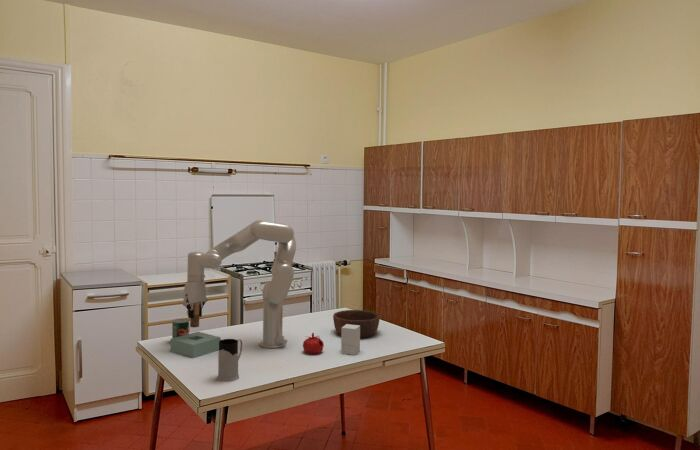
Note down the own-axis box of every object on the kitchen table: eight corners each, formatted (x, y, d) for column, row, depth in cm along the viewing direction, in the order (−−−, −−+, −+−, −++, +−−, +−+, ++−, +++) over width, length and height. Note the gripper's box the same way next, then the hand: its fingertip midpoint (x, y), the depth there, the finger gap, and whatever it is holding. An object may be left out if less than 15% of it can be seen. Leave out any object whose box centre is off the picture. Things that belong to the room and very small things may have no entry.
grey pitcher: (212, 379, 214) (212, 342, 213) (232, 368, 227) (232, 334, 226) (231, 382, 211) (231, 345, 210) (250, 371, 224) (250, 336, 223)
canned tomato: (183, 345, 259) (183, 323, 258) (169, 344, 260) (169, 321, 259) (191, 340, 266) (191, 319, 266) (177, 339, 268) (177, 318, 267)
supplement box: (360, 351, 256) (360, 325, 255) (355, 355, 249) (356, 328, 248) (345, 349, 258) (346, 323, 257) (340, 353, 251) (341, 327, 250)
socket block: (220, 349, 253) (220, 337, 253) (193, 358, 240) (193, 345, 239) (197, 343, 262) (197, 331, 262) (170, 351, 249) (170, 338, 248)
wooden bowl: (387, 332, 290) (388, 314, 290) (363, 343, 269) (364, 323, 269) (349, 325, 304) (349, 307, 303) (323, 335, 283) (323, 315, 282)
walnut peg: (200, 326, 251) (201, 301, 250) (194, 327, 247) (194, 302, 247) (195, 324, 253) (195, 299, 252) (188, 326, 250) (188, 301, 249)
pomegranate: (304, 356, 246) (304, 337, 245) (300, 350, 256) (300, 331, 255) (325, 354, 249) (325, 335, 248) (321, 348, 259) (321, 329, 258)
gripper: (204, 275, 258) (203, 313, 259) (175, 279, 244) (174, 319, 245) (215, 277, 253) (214, 315, 255) (186, 281, 240) (185, 321, 241)
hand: (194, 316), depth 250 cm, fingers closed on walnut peg, 4 cm apart
